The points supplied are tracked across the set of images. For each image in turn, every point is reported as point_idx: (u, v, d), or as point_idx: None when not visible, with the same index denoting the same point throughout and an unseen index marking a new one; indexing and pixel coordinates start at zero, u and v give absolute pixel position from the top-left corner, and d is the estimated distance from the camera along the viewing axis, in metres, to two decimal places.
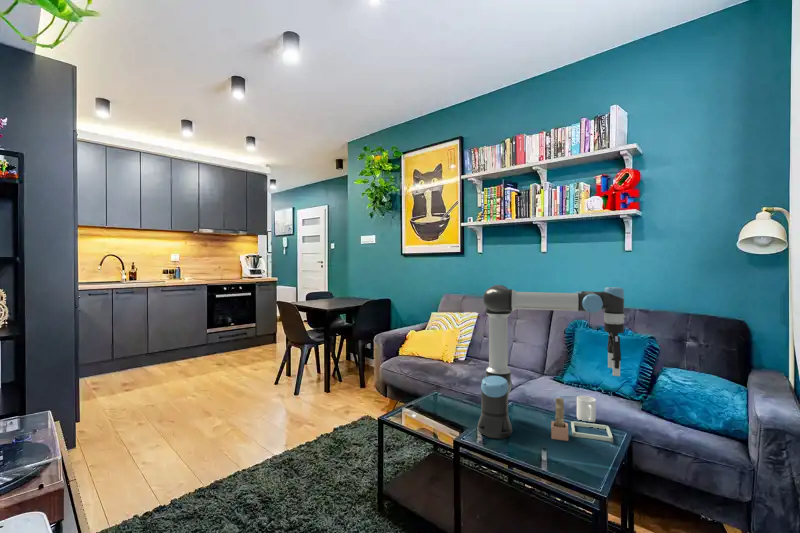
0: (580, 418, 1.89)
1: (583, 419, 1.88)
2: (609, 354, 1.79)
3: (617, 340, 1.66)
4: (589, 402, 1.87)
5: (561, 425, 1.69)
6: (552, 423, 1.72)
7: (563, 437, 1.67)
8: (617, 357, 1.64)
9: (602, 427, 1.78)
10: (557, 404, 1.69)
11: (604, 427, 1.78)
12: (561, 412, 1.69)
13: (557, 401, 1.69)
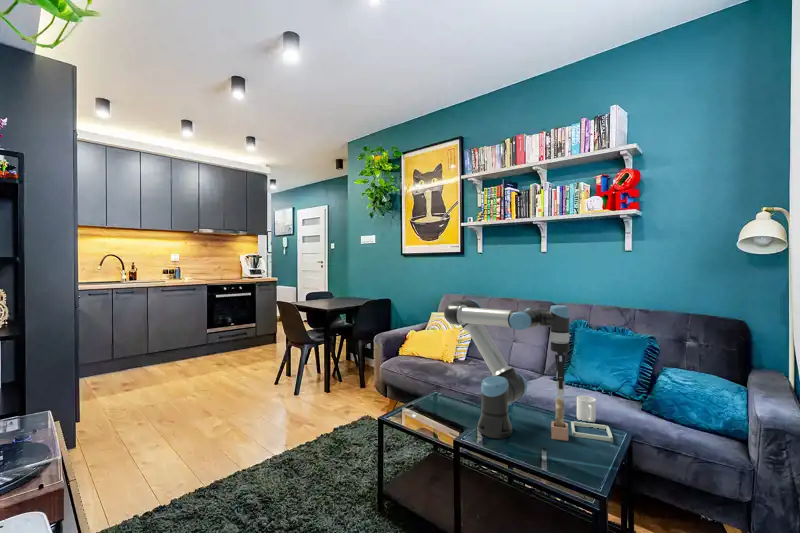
0: (580, 418, 1.89)
1: (583, 419, 1.88)
2: (557, 373, 1.76)
3: (561, 360, 1.63)
4: (589, 402, 1.87)
5: (561, 425, 1.69)
6: (552, 423, 1.72)
7: (563, 437, 1.67)
8: (560, 378, 1.61)
9: (602, 427, 1.78)
10: (557, 404, 1.69)
11: (604, 427, 1.78)
12: (561, 412, 1.69)
13: (557, 401, 1.69)
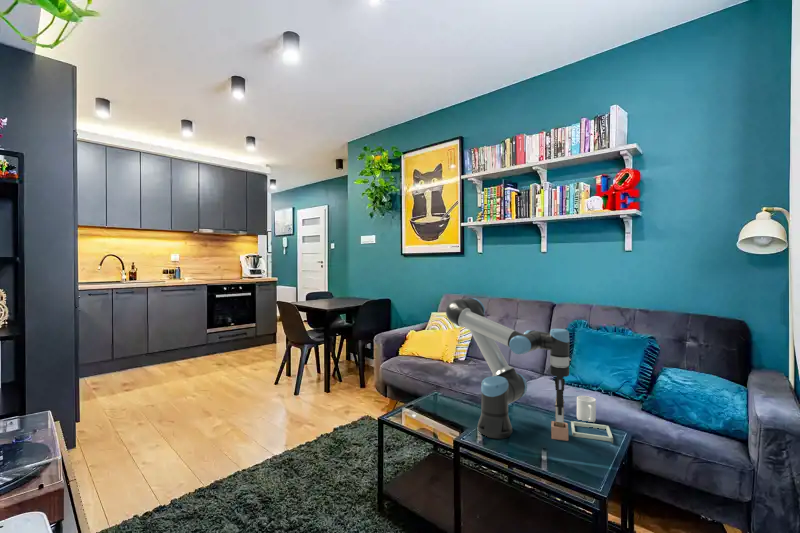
0: (580, 418, 1.89)
1: (583, 419, 1.88)
2: None
3: (561, 388, 1.64)
4: (589, 402, 1.87)
5: (561, 425, 1.69)
6: (552, 423, 1.72)
7: (563, 437, 1.67)
8: (559, 405, 1.65)
9: (602, 427, 1.78)
10: None
11: (604, 427, 1.78)
12: None
13: None
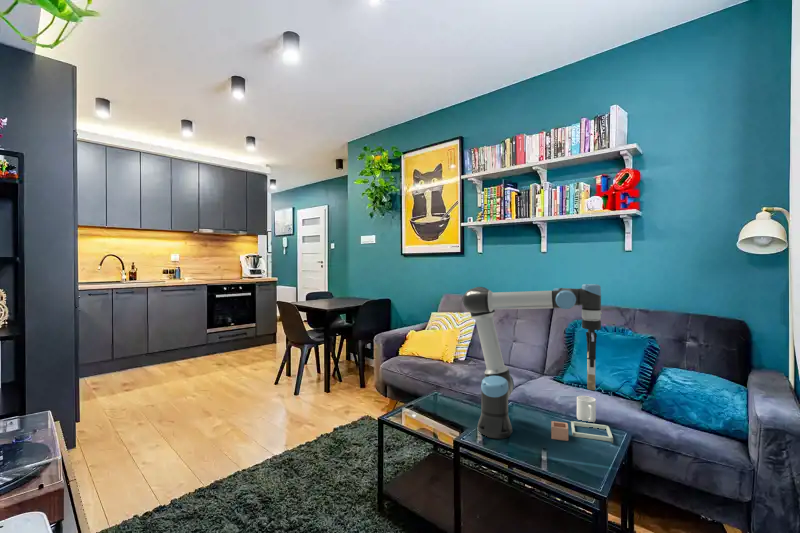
0: (580, 418, 1.89)
1: (583, 419, 1.88)
2: None
3: (593, 340, 1.68)
4: (589, 402, 1.87)
5: (593, 377, 1.73)
6: (552, 423, 1.72)
7: (563, 437, 1.67)
8: (592, 357, 1.69)
9: (602, 427, 1.78)
10: None
11: (604, 427, 1.78)
12: None
13: None
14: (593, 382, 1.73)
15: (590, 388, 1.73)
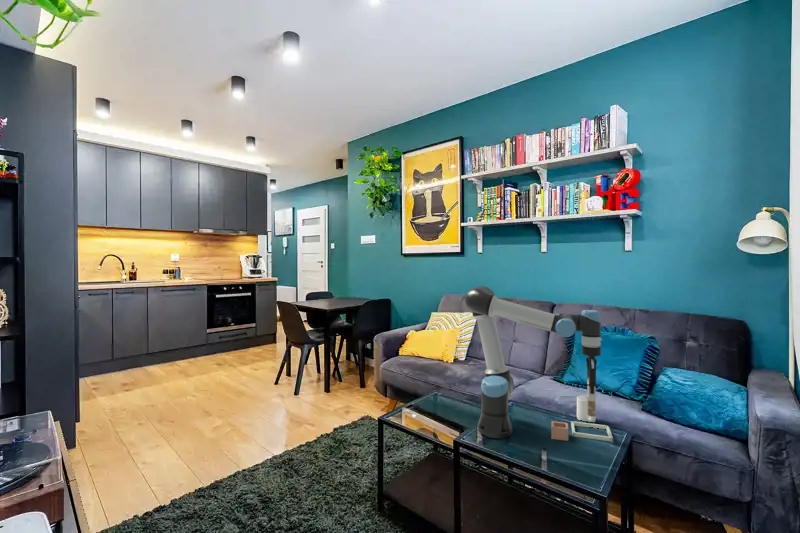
0: (580, 418, 1.89)
1: (583, 419, 1.88)
2: None
3: (594, 367, 1.68)
4: None
5: (593, 404, 1.73)
6: (552, 423, 1.72)
7: (563, 437, 1.67)
8: (592, 384, 1.69)
9: (602, 427, 1.78)
10: None
11: (604, 427, 1.78)
12: None
13: None
14: (593, 408, 1.73)
15: (590, 414, 1.73)
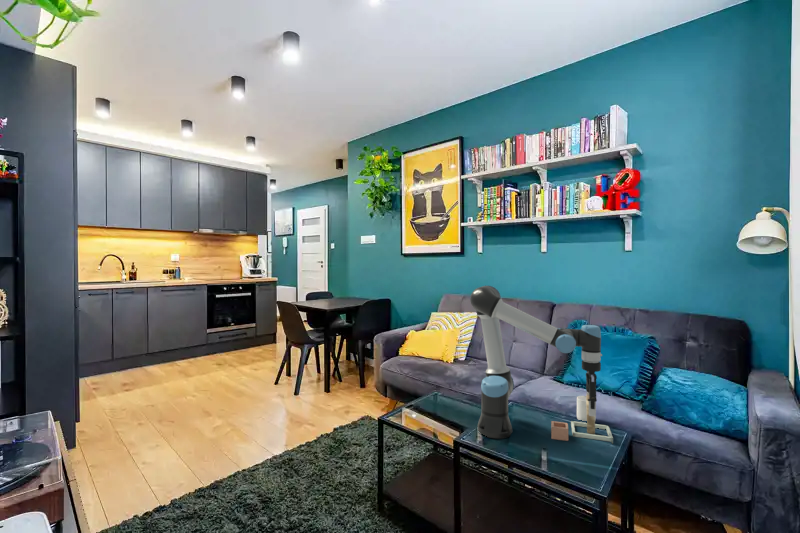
0: (580, 418, 1.89)
1: (583, 419, 1.88)
2: (587, 394, 1.79)
3: (594, 381, 1.68)
4: None
5: (592, 421, 1.73)
6: (552, 423, 1.72)
7: (563, 437, 1.67)
8: (592, 398, 1.66)
9: (602, 427, 1.78)
10: (588, 401, 1.74)
11: (604, 427, 1.78)
12: None
13: (588, 398, 1.74)
14: (593, 426, 1.73)
15: (590, 432, 1.73)
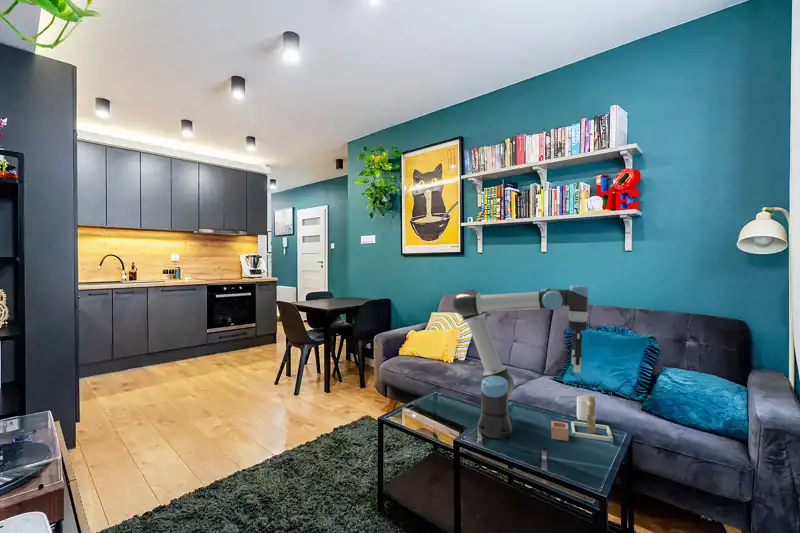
0: (580, 418, 1.89)
1: (583, 419, 1.88)
2: (573, 351, 1.83)
3: (579, 337, 1.70)
4: None
5: (593, 422, 1.73)
6: (552, 423, 1.72)
7: (563, 437, 1.67)
8: (578, 354, 1.67)
9: (602, 427, 1.78)
10: (589, 401, 1.73)
11: (604, 427, 1.78)
12: (593, 409, 1.73)
13: (589, 398, 1.73)
14: (593, 426, 1.73)
15: (590, 432, 1.73)
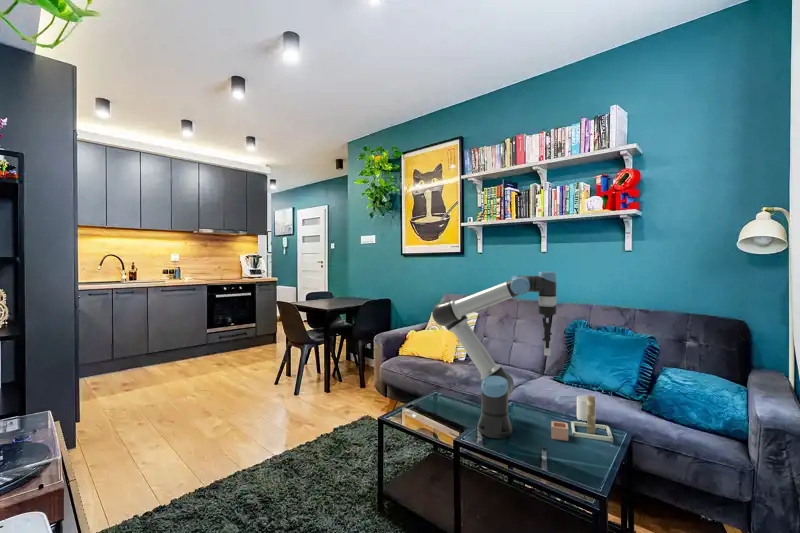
0: (580, 418, 1.89)
1: (583, 419, 1.88)
2: None
3: (548, 321, 1.75)
4: None
5: (593, 422, 1.73)
6: (552, 423, 1.72)
7: (563, 437, 1.67)
8: (547, 337, 1.72)
9: (602, 427, 1.78)
10: (589, 401, 1.73)
11: (604, 427, 1.78)
12: (593, 409, 1.73)
13: (589, 398, 1.73)
14: (593, 426, 1.73)
15: (590, 432, 1.73)
